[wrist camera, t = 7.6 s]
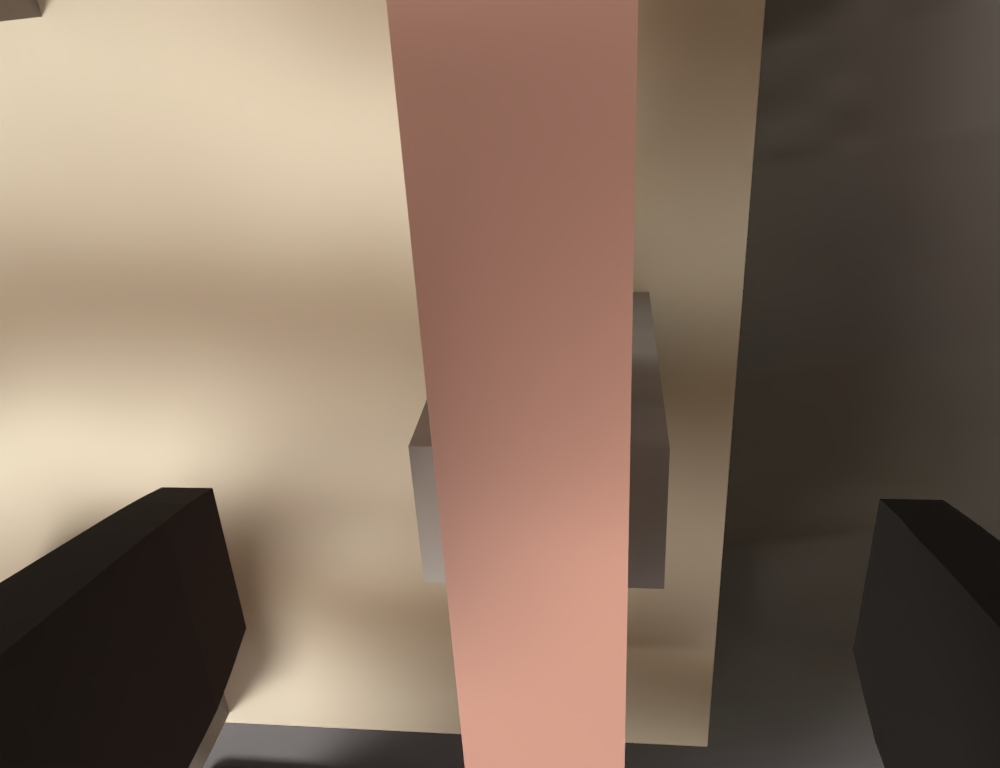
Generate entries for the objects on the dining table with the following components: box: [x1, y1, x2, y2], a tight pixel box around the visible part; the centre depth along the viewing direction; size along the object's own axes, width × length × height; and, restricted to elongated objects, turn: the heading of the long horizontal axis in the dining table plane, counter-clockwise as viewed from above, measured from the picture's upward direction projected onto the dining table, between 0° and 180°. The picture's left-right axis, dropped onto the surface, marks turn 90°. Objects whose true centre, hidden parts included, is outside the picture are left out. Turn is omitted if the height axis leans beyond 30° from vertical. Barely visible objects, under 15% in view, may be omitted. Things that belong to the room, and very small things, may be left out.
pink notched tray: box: [386, 0, 638, 768], centre depth 11 cm, size 16×11×5 cm
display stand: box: [0, 0, 766, 768], centre depth 14 cm, size 19×16×6 cm
